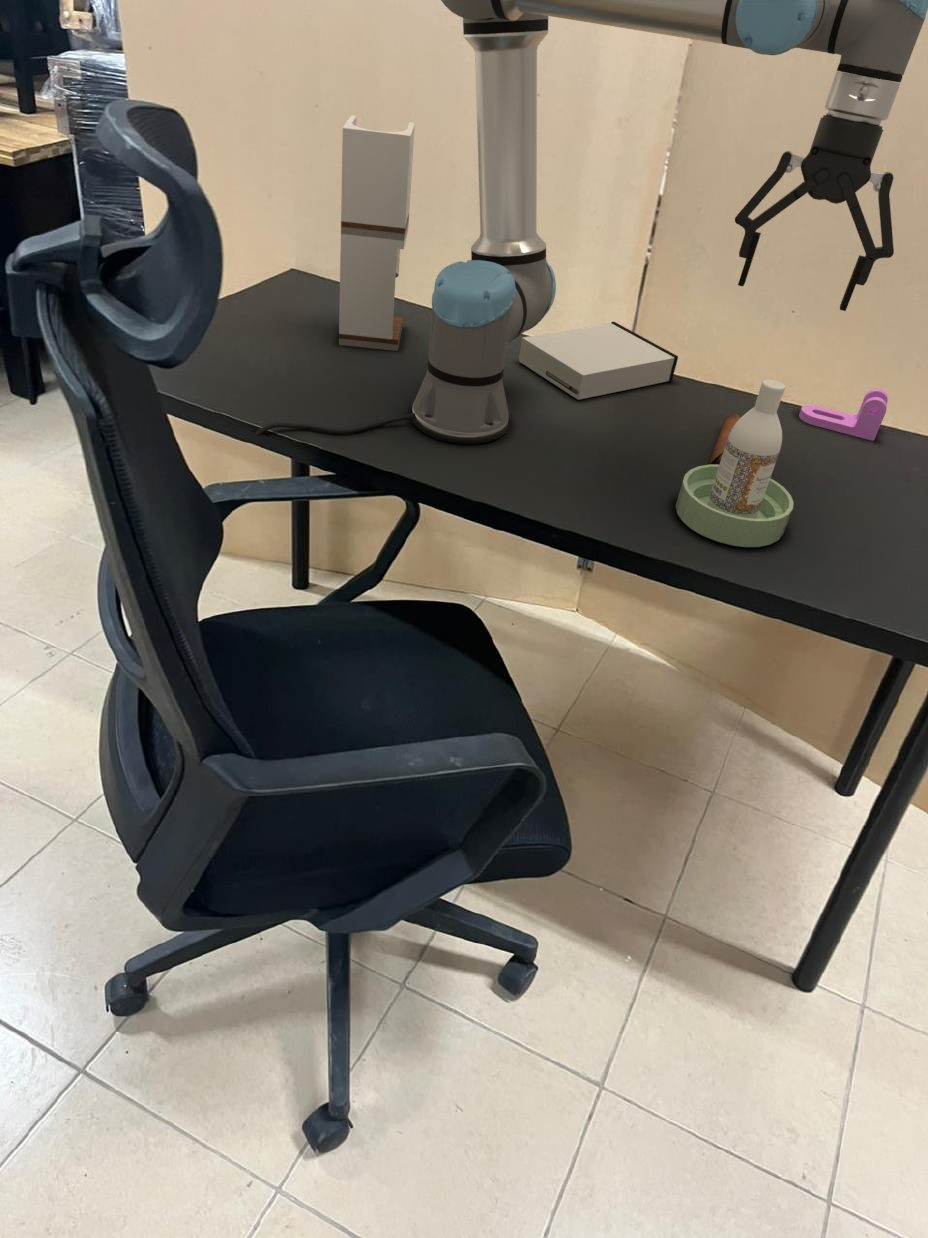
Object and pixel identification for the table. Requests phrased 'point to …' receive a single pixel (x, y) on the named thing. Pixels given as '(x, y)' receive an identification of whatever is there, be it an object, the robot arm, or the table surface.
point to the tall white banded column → (373, 232)
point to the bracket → (851, 416)
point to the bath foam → (749, 456)
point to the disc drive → (597, 360)
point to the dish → (726, 525)
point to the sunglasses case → (723, 438)
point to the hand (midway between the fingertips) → (791, 296)
